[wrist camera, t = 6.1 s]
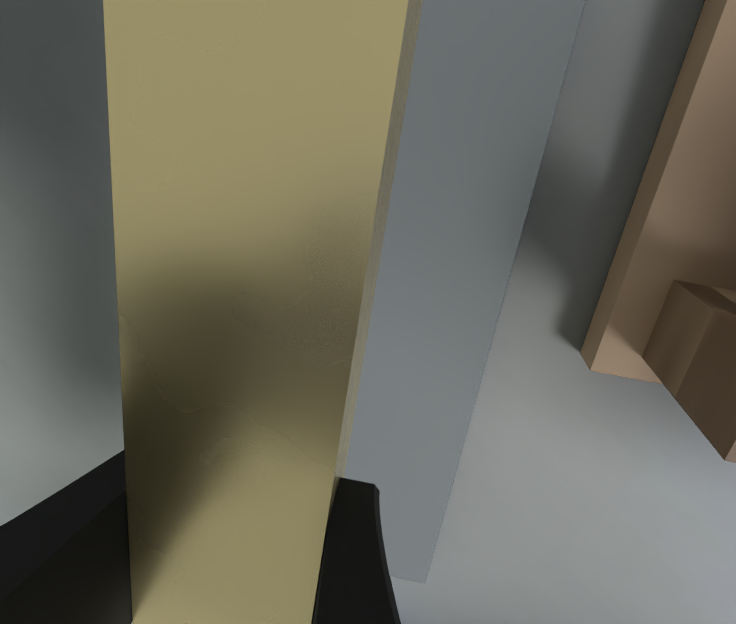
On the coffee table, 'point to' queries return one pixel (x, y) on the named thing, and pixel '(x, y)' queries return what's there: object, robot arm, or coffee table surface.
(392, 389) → the charcoal mat
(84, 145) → the coffee table surface
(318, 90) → the brass rail
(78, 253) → the coffee table surface
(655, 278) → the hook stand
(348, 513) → the robot arm
